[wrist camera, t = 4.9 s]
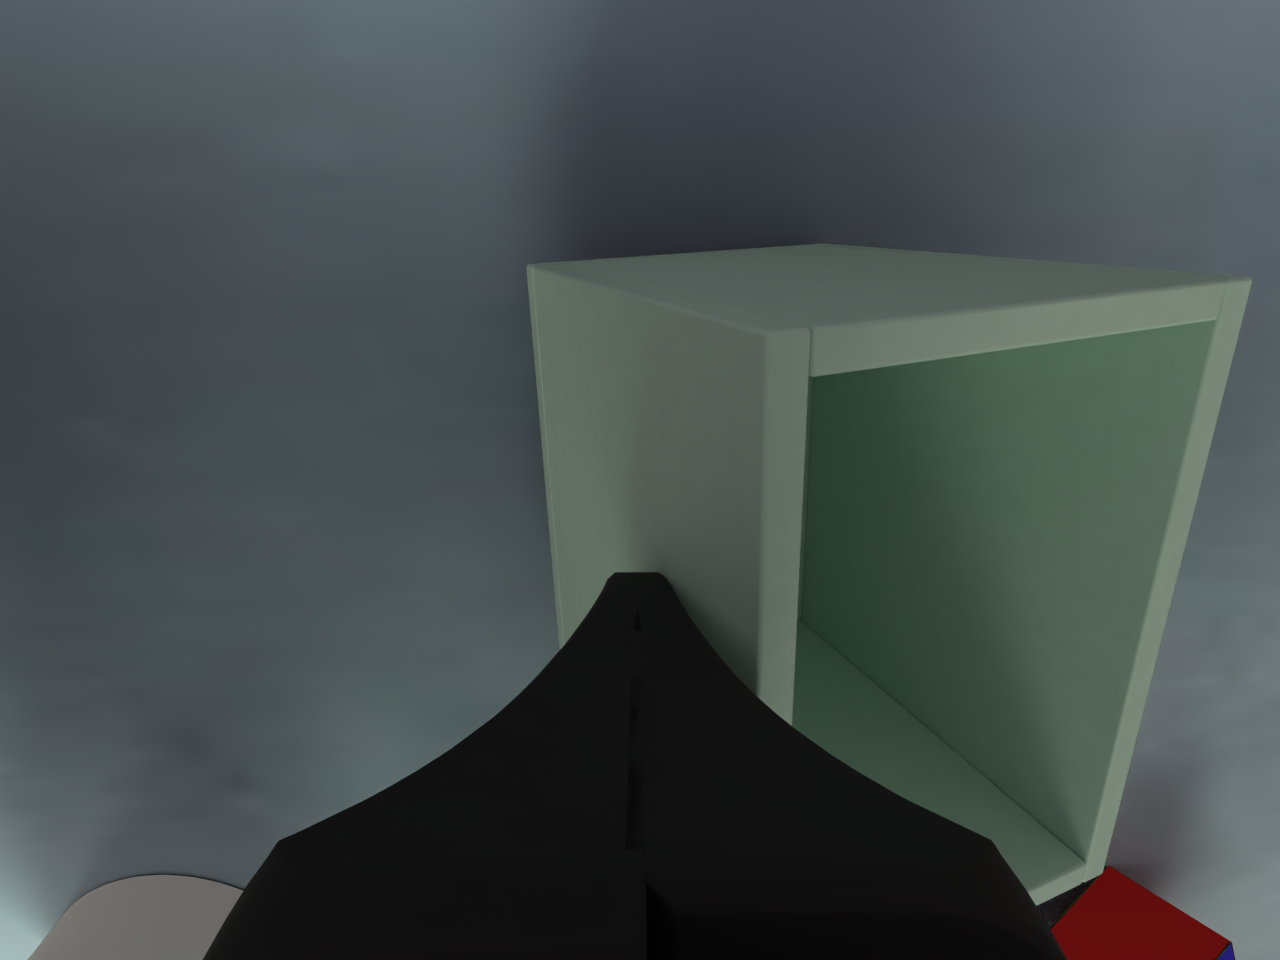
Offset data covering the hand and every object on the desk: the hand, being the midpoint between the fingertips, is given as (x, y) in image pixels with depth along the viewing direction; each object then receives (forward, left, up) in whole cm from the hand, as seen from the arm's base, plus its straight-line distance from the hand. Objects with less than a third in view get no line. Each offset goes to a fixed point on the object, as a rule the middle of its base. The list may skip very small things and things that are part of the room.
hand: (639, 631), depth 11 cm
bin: (-1, +1, -7) cm, 7 cm away
